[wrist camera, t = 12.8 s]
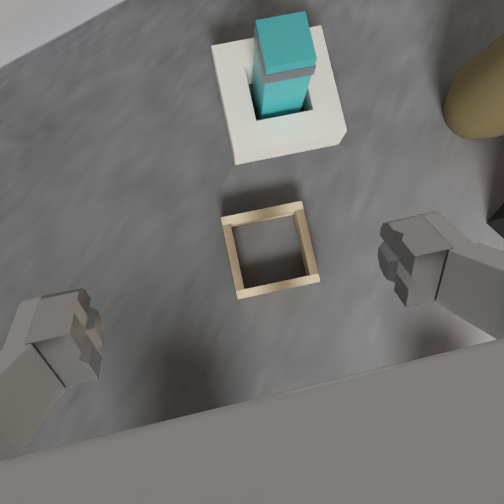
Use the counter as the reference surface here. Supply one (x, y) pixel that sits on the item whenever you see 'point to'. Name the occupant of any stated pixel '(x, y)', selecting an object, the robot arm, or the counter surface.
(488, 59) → the squeeze bottle
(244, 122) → the port
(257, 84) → the plug
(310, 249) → the beige flat square frame
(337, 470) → the robot arm
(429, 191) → the counter surface
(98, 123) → the counter surface
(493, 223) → the cleaning product box
